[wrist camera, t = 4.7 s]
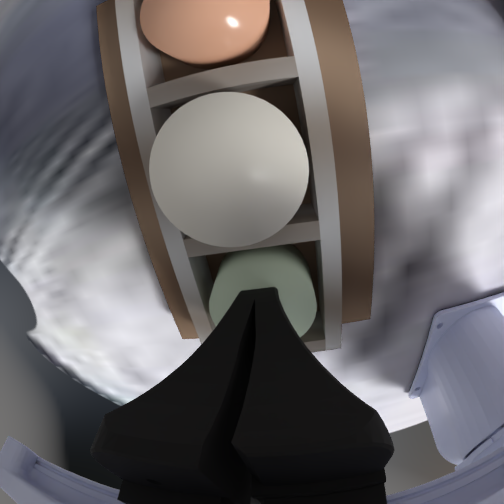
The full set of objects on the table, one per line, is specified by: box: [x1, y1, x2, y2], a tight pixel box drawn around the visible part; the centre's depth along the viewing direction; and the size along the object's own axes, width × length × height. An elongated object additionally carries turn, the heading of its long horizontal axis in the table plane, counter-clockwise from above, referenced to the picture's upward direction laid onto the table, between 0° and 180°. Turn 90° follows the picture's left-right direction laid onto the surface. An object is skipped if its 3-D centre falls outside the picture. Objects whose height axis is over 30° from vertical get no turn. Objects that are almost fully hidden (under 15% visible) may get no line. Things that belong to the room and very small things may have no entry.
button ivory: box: [149, 92, 309, 247], centre depth 8 cm, size 4×4×2 cm
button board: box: [96, 0, 374, 352], centre depth 10 cm, size 18×10×4 cm, turn 10°
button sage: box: [209, 244, 317, 337], centre depth 11 cm, size 4×4×2 cm
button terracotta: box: [140, 0, 270, 70], centre depth 7 cm, size 4×4×2 cm
